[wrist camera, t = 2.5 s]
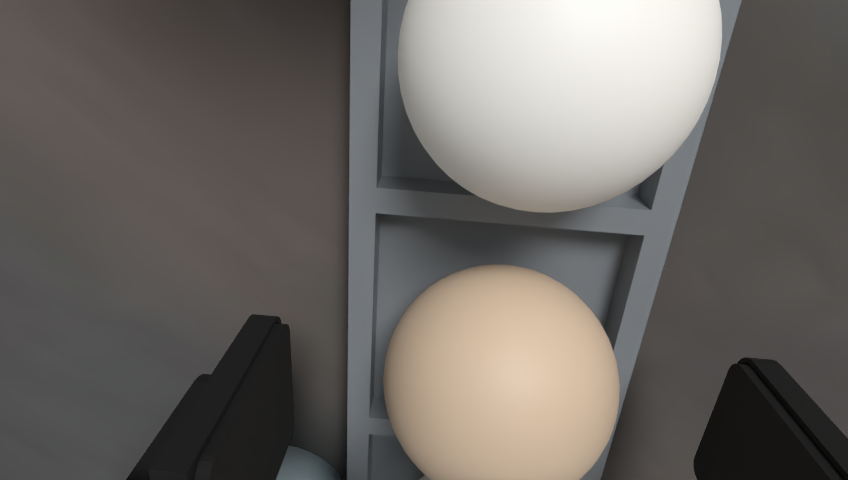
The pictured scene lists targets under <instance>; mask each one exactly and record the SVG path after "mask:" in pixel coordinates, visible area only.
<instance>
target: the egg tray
mask: <svg viewBox="0 0 848 480" xmlns="http://www.w3.org/2000/svg"><path fill="white" fill-rule="evenodd" d="M741 1H742V0H719V2H720V8H721V14H722V44H721V54H720V61H719V66H718V70H717V74H716V79H715V82H714V85H713V88H712V91H711V93H710V96H709V99H708V102H707V104H706V106H705V108H704V110H703V112H702V114H701V116H700V118H699V120H698V122H697V123H696V125H695V126H694V128H693V129H692V131H691V133H690V134H689V136H688V137H687V139H686V140H685V141H684V142H683V144H682V145H681V146H680V147H679V148H678V150H677V151H676V152H675V153H674V155H673V156H672V157H670V158H669V159H668V160H667V161H666V162H665V163H664V164H663V165H662V166H661V167H660V168H659V169H658V170H657V171H655V172H654V173H653V174H652V175H650V176H649V177H648V178H647V179H645V180H644V181H643V182H641V183H640V184H638V185H636V186H635V187H633V188H631V189H630V190H628V191H627V192H625V193H623V194H621V195H619V196H616V197H614V198H612V199H610V200H608V201H605V202H602V203H599V204H596V205H594V206H591V207H587V208H582V209H578V210H573V211H565V212H555V213H545V212H529V211H522V210H516V209H512V208H508V207H505V206H501V205H498V204H495V203H492V202H490V201H487V200H485V199H483V198H480V197H478V196H477V195H475V194H473V193H471V192H470V191H468V190H466V189H464V188H463V187H462V186H460V185H459V184H458V183H456V182H455V181H454V180H453V179H451V178H450V177H449V176H448V175H447V174H446V173H445V172H444V171H443V170H442V169H441V168H440V167H439V166H438V165H437V164H436V163H435V162H434V160H433V159H432V158H431V156H430V155H429V154H428V152H427V151H426V150H425V149H424V147H423V146H422V144H421V142H420V141H419V139H418V137H417V135H416V134H415V132H414V130H413V128H412V125H411V123H410V120H409V118H408V116H407V113H406V110H405V106H404V103H403V99H402V96H401V91H400V84H399V77H398V44H399V34H400V28H401V24H402V19H403V15H404V11H405V7H406V5H407V2H408V0H351V23H350V149H349V275H348V402H347V480H419V479H420V478H422V477H423V476H424V475H425V474H424V473H423V472H422V471H421V470H419V469H418V467H417V466H416V465H415V464H414V463H413V462H412V460H411V459H410V458H409V456H408V455H407V454H406V453H405V451H404V449H403V447H402V446H401V444H400V442H399V440H398V438H397V437H396V435H395V433H394V430H393V428H392V425H391V422H390V419H389V416H388V413H387V408H386V403H385V397H384V383H383V376H384V366H385V358H386V354H387V350H388V347H389V344H390V340H391V337H392V335H393V332H394V330H395V328H396V326H397V324H398V322H399V321H400V319H401V317H402V316H403V314H404V313H405V311H406V310H407V308H408V307H409V306H410V305H411V304H412V303H413V302H414V300H415V299H416V298H417V297H418V296H419V295H420V294H421V293H423V292H424V291H425V290H426V289H427V288H428V287H430V286H431V285H432V284H434V283H436V282H437V281H439V280H440V279H442V278H444V277H446V276H448V275H450V274H452V273H455V272H458V271H461V270H464V269H467V268H471V267H476V266H481V265H492V264H498V265H512V266H519V267H524V268H527V269H531V270H535V271H537V272H540V273H542V274H545V275H547V276H549V277H551V278H553V279H554V280H556V281H558V282H560V283H561V284H563V285H565V286H566V287H567V288H568V289H570V290H571V291H572V292H574V293H575V294H576V295H577V296H578V297H579V298H580V299H581V300H582V301H583V302H584V303H585V304H586V305H587V306H588V307H589V308H590V309H591V311H592V312H593V313H594V315H595V316H596V317H597V319H598V320H599V322H600V323H601V325H602V327H603V329H604V330H605V332H606V334H607V336H608V338H609V340H610V343H611V346H612V349H613V352H614V355H615V358H616V362H617V368H618V375H619V383H620V393H619V408H618V413H617V418H616V422H615V425H614V428H613V431H612V434H611V437H610V439H609V441H608V443H607V445H606V447H605V448H604V450H603V452H602V454H601V455H600V457H599V459H598V460H597V461H596V463H595V464H594V465H593V467H592V468H591V469H590V470H589V471H588V472H587V473H586V474H585V475H584V476H583V477H582V478H581V479H580V480H601V477H602V474H603V470H604V467H605V463H606V460H607V457H608V453H609V450H610V446H611V443H612V440H613V436H614V433H615V429H616V426H617V423H618V419H619V416H620V412H621V409H622V406H623V402H624V399H625V395H626V392H627V389H628V385H629V382H630V378H631V375H632V372H633V368H634V365H635V361H636V358H637V355H638V351H639V348H640V344H641V341H642V338H643V334H644V331H645V327H646V324H647V321H648V317H649V314H650V310H651V307H652V304H653V300H654V297H655V293H656V290H657V287H658V283H659V280H660V276H661V273H662V269H663V266H664V263H665V259H666V256H667V252H668V249H669V246H670V242H671V239H672V235H673V232H674V229H675V225H676V222H677V218H678V215H679V212H680V208H681V205H682V201H683V198H684V195H685V191H686V188H687V184H688V181H689V178H690V174H691V171H692V167H693V164H694V161H695V157H696V154H697V150H698V147H699V144H700V140H701V137H702V133H703V130H704V127H705V123H706V120H707V116H708V113H709V110H710V106H711V103H712V99H713V96H714V93H715V89H716V86H717V82H718V79H719V76H720V72H721V69H722V65H723V62H724V59H725V55H726V52H727V48H728V45H729V42H730V38H731V35H732V31H733V28H734V25H735V21H736V18H737V14H738V11H739V8H740V4H741Z"/></svg>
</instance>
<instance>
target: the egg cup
mask: <svg viewBox="0 0 848 480" xmlns="http://www.w3.org/2000/svg"><path fill="white" fill-rule="evenodd" d="M276 480H343V479H342V477H341V476H340V474H339V473H338V472H337V471H336V469H335V468H334V467H333V466H331V465H330V464H329V463H328V462H327V461H325V460H324V459H322V458H321V457H319V456H317V455H316V454H314V453H311V452H309V451H307V450H304V449H301V448H298V447H294V446H290V445H289V446H288V449H287V451H286V454H285V457H284V459H283V462H282V465H281V467H280V470H279V473H278V475H277V478H276Z"/></svg>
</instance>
